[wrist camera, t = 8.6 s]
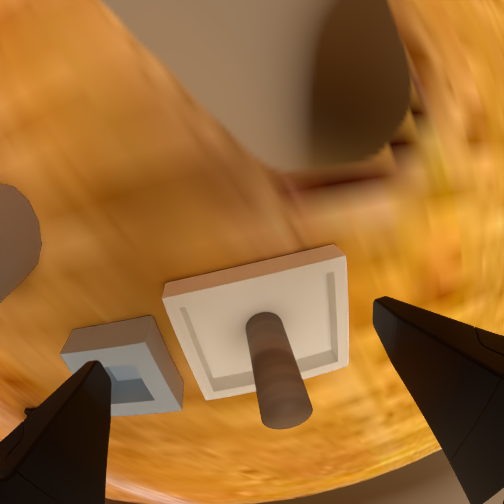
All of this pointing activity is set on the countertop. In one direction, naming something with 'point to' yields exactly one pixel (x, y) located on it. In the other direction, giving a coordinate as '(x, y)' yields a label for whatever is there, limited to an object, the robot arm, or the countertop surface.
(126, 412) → the grey square peg base
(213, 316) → the tray
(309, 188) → the countertop surface
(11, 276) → the cup
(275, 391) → the dowel
